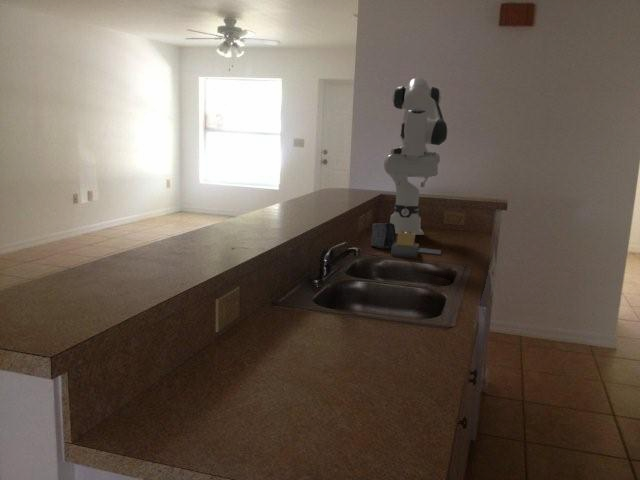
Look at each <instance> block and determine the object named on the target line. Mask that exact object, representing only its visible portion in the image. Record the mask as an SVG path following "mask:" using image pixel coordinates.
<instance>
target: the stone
mask: <svg viewBox="0 0 640 480" xmlns="http://www.w3.org/2000/svg"><path fill="white" fill-rule="evenodd" d="M371 224H372V225H371V228H372V231H371V237H370V246H371V247H372V246H373V247H375V248H378V249H380V248H381V249H382V250H385V249H391V248H392V244H393V243H394V242H395V241H396V242H397V237H396V236H397V234H395V226H394V224H392V223H390V222H389V223H388V222H385V223H382V222H381V223H380V222H378V223H377V222H376V223H371ZM381 249H380V250H381Z"/></svg>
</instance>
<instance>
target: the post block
mask: <svg viewBox="0 0 640 480" xmlns="http://www.w3.org/2000/svg"><path fill="white" fill-rule="evenodd" d="M404 233H408V234H409V232H404ZM419 247H420V244H419V243H416V242H414V245H413V247H409V246H400V245H397V240H396V241H395V242H394V243H393V244H392V248H390V249H391V250H390V256H395V257H403V258H412V259H413V258H415V259H417V257H418V255H419V253H418V252H419V249H420V248H419Z"/></svg>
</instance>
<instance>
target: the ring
mask: <svg viewBox="0 0 640 480" xmlns="http://www.w3.org/2000/svg"><path fill="white" fill-rule="evenodd" d="M404 232H408V231H399V232H398V234H397V235H396V236H397V237H396V242H397V245H400V246H409V247H413V245H414V243H415V239H416V235H415V232H409V234H408V233H404Z"/></svg>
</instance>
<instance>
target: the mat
mask: <svg viewBox="0 0 640 480" xmlns="http://www.w3.org/2000/svg"><path fill="white" fill-rule="evenodd" d="M418 254H423V255H433V256H441V255H442V249H435V248H434V249H433V248H425V247H424V248H423V247H420V248H419V250H418Z"/></svg>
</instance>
